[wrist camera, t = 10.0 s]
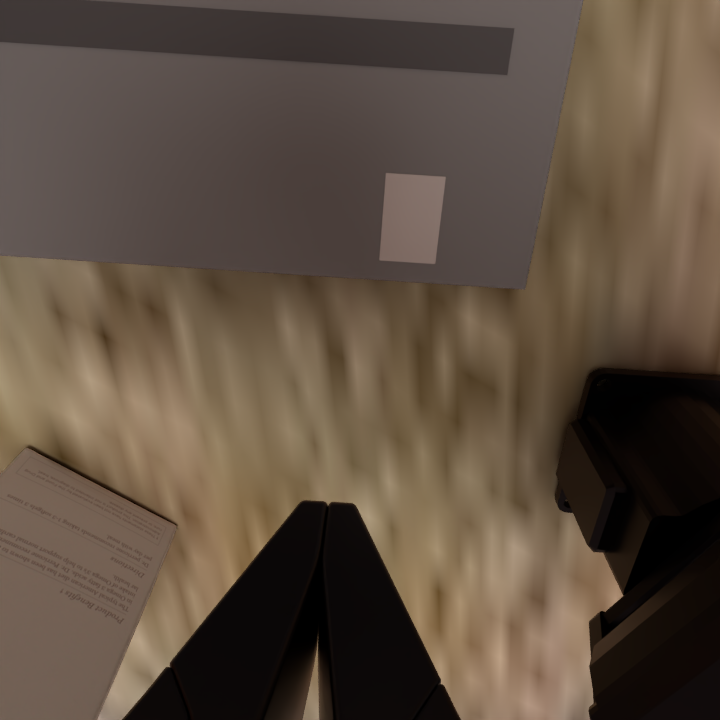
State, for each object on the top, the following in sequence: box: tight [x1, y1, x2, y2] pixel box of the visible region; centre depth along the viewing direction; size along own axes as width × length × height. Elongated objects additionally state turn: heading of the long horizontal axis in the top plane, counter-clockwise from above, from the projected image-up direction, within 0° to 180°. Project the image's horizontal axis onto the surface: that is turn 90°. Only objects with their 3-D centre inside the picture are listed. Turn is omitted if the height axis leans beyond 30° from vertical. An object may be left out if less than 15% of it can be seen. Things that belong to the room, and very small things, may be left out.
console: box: [0, 0, 583, 290], centre depth 15 cm, size 20×12×3 cm, turn 87°
